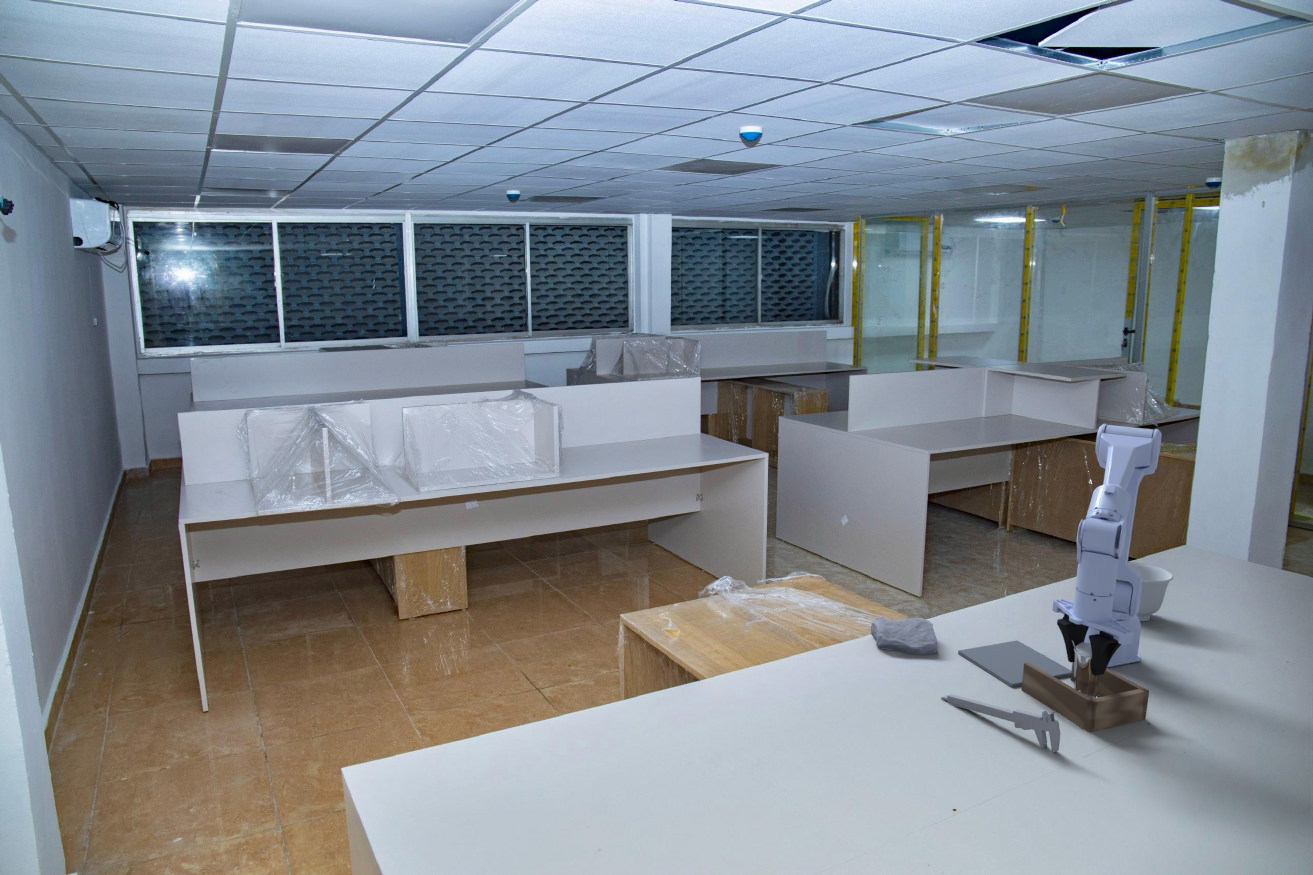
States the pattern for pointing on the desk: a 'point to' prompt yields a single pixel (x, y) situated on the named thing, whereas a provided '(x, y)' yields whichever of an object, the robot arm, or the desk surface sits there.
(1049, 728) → the caliper
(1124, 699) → the open box
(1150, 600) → the teacup
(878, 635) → the stone block
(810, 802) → the desk surface
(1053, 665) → the mat
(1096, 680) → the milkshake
